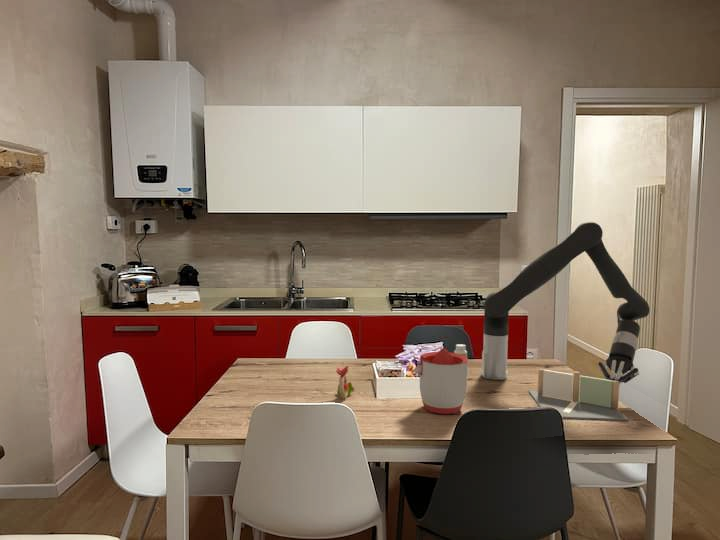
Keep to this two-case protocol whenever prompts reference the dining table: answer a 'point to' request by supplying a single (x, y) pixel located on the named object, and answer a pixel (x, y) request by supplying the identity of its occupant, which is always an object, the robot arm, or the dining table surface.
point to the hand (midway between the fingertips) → (612, 390)
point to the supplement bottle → (461, 349)
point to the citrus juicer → (442, 381)
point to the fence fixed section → (559, 384)
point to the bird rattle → (344, 384)
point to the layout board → (579, 408)
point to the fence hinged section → (599, 392)
